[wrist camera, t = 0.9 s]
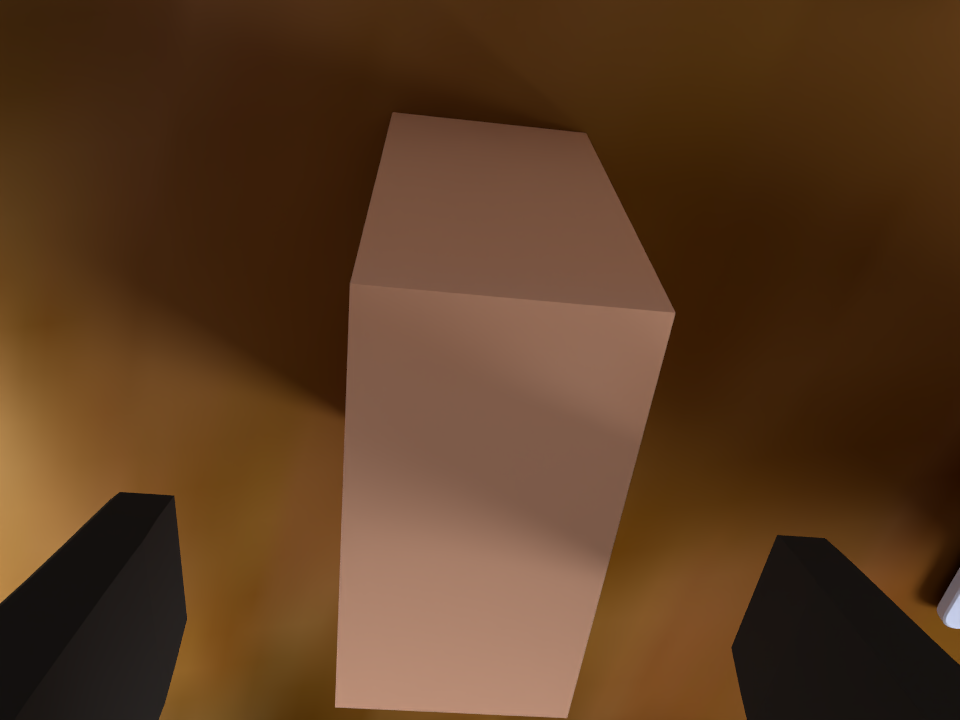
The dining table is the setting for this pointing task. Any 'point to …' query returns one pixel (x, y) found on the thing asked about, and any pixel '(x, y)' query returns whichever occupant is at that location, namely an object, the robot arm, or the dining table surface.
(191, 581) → the dining table surface
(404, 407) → the terracotta flat plank
